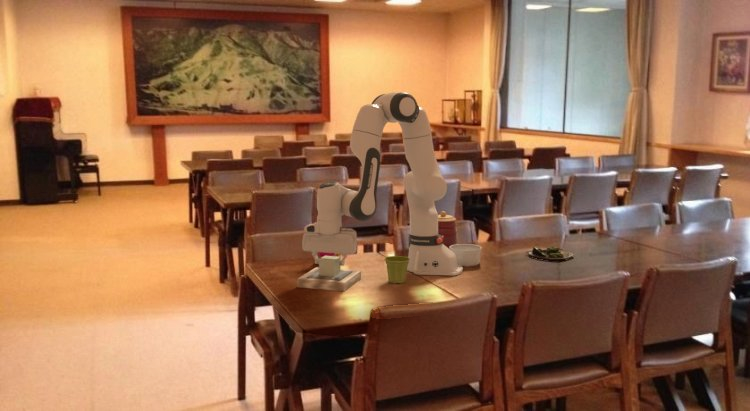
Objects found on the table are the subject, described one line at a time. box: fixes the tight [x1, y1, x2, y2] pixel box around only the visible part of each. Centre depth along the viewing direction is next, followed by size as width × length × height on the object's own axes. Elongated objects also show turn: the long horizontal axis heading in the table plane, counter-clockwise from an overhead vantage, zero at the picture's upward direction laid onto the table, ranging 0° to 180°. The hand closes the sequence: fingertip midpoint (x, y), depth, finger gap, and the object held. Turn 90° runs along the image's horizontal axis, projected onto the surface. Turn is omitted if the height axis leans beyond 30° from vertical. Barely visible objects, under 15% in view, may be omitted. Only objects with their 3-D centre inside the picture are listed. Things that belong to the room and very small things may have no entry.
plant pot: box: [384, 255, 410, 284], centre depth 248 cm, size 9×9×9 cm
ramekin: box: [449, 243, 483, 267], centre depth 277 cm, size 13×13×7 cm
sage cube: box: [318, 255, 341, 277], centre depth 246 cm, size 6×6×6 cm
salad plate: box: [524, 246, 574, 262], centre depth 290 cm, size 19×18×5 cm
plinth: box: [296, 266, 362, 292], centre depth 247 cm, size 18×18×3 cm
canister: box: [438, 210, 459, 249], centre depth 301 cm, size 13×13×18 cm
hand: (329, 264), depth 246 cm, fingers open, 8 cm apart
